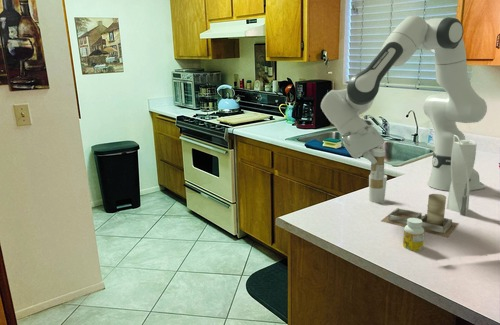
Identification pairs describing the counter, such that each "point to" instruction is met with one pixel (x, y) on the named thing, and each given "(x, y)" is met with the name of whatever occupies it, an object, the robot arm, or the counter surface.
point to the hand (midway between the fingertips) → (379, 161)
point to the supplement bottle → (413, 235)
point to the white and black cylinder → (377, 192)
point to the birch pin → (436, 209)
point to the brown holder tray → (402, 215)
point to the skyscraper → (461, 174)
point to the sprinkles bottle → (377, 169)
